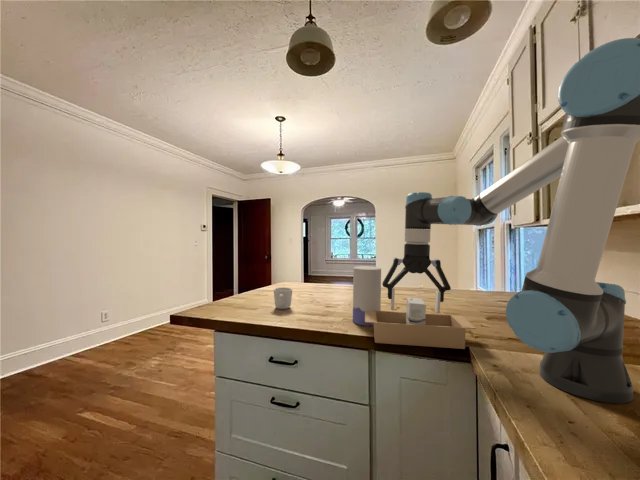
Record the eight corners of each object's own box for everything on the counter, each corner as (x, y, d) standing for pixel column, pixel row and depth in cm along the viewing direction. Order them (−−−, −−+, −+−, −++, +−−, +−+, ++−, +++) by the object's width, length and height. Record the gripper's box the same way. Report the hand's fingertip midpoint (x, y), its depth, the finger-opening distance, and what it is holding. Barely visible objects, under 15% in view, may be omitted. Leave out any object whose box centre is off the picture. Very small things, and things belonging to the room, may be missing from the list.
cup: (290, 312, 116) (290, 292, 116) (270, 312, 116) (270, 292, 116) (293, 305, 127) (293, 287, 127) (275, 305, 127) (275, 287, 127)
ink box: (425, 343, 85) (426, 304, 85) (408, 342, 86) (409, 303, 86) (421, 333, 94) (422, 297, 93) (405, 332, 95) (406, 296, 94)
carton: (476, 349, 81) (476, 328, 81) (364, 341, 86) (365, 322, 86) (460, 333, 94) (461, 315, 94) (364, 327, 99) (364, 310, 99)
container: (385, 321, 106) (386, 267, 105) (370, 328, 98) (371, 270, 98) (362, 316, 112) (363, 265, 112) (347, 321, 105) (348, 267, 104)
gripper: (455, 243, 91) (453, 309, 92) (375, 241, 95) (373, 304, 96) (463, 245, 84) (460, 317, 85) (376, 242, 87) (374, 311, 88)
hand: (414, 310), depth 90 cm, fingers open, 13 cm apart
